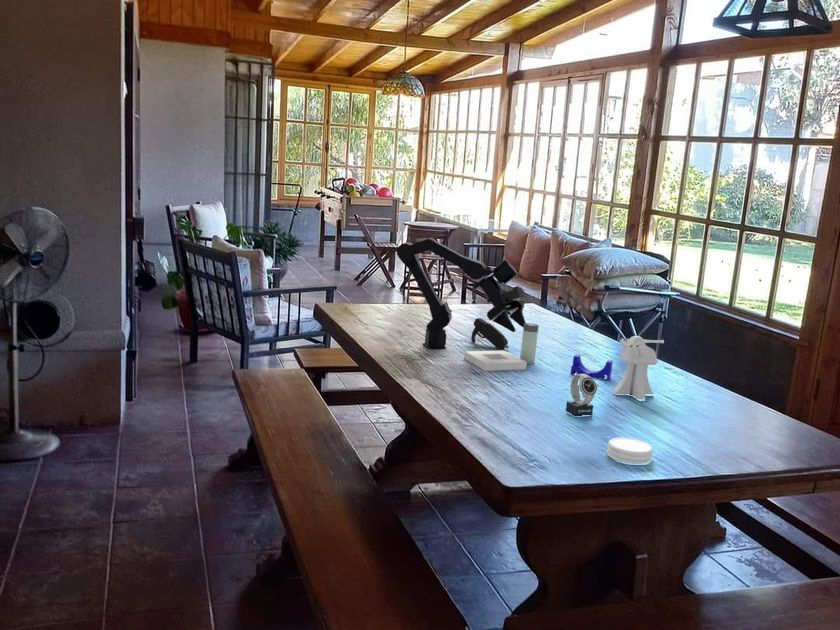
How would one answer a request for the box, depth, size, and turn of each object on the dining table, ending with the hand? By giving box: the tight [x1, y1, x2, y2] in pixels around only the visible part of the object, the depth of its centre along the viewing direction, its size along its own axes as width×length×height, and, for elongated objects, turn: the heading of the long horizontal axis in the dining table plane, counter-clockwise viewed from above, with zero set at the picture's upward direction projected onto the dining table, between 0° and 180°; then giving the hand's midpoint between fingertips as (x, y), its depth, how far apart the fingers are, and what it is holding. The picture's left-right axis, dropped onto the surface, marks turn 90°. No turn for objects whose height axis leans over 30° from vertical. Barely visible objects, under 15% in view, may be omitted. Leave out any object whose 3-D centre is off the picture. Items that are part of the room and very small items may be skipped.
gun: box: [470, 317, 510, 351], centre depth 280 cm, size 3×16×10 cm, turn 53°
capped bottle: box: [520, 322, 540, 365], centre depth 259 cm, size 5×5×13 cm
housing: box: [463, 350, 528, 372], centre depth 254 cm, size 15×15×2 cm
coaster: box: [606, 437, 654, 464], centre depth 177 cm, size 10×10×4 cm
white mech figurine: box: [612, 335, 665, 399], centre depth 229 cm, size 12×13×18 cm
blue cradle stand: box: [570, 354, 614, 381], centre depth 248 cm, size 12×4×6 cm, turn 65°
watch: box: [565, 374, 598, 416], centre depth 206 cm, size 6×8×11 cm
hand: (520, 329), depth 260 cm, fingers open, 9 cm apart
